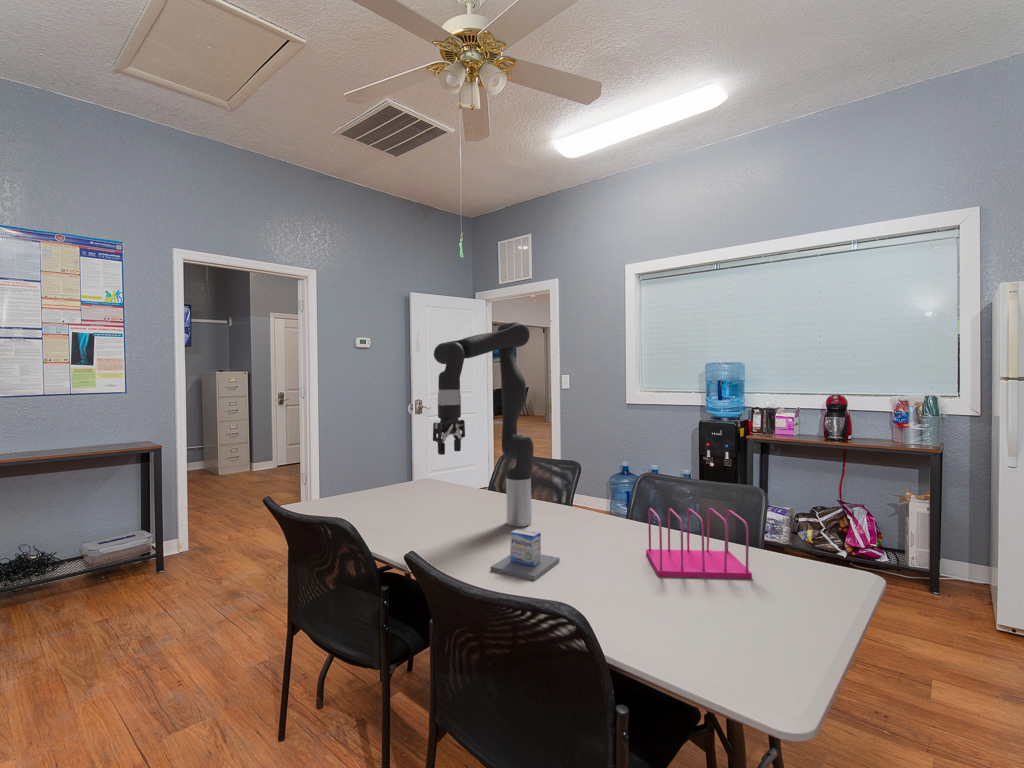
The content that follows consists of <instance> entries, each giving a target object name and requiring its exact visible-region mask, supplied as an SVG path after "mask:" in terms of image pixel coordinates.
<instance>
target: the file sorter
mask: <svg viewBox="0 0 1024 768" xmlns="http://www.w3.org/2000/svg"><path fill="white" fill-rule="evenodd" d="M690 512H691V513H692V514H693V515H694V516H695V517H696V518H698V519H699V522H700V527H701V529H700V530H701V550H700V549H699V550H696V549H690ZM711 512H712V513H714V514H715V515H716V516H717V517H718V518H719V519H721V520H722V521H723V525H724V550H710V522H711V521H710V520H711V519H710V515H711ZM651 513H652V514H653V515H654V516H655V517H656V519H657V520H658V527H659V528H658V529H659V530H658V531H659V532H658V533H659V549H657V548H656V549H654V548H653V549H652V534H651V532H652V529H651V525H652V523H651V522H652V521H651V520H652V519H651ZM671 513H672V514H673V515H674V516H675V517H676V518H677V519H678V521H679V525H680V526H679V527H680V549H671ZM730 514H731V515H733V516H734V517H736V518H738V520H740V521H741V522H743V524H744V527H745V564H743V563H742V562H741V561H740V559H738V558H737V557H736V556H735V555H734V554H733V553H732V552H731V551H730V550H729V515H730ZM647 515H648V548H647V549H646V550H645V554H646V557H647V558H648V560H649V562H650V564H651V567H652V568H653V569H654V572H655V573H656V575H657V577H665V578H667V577H669V578H704V579H705V578H707V579H709V578H710V579H737V580H738V579H740V580H742V579H743V580H744V579H746V580H747V579H748V580H749V579H750V580H752V579H753V573H752V571H750V570H749V551H750V550H749V543H750V542H749V541H750V540H749V538H750V537H749V534H750V533H749V525H748V522H747V521H746V520H745V519H743V518H742V517H741V516H740V515H738V514H737V513H735V512H734V511H732V510H730V509H728V510H727V511H726V513H725V518H724V517H723V516H722V515H721V514H720V513H719V512H717V511H716V510H715V509H714V508H712V507H709V508H708V511H707V519H706V521H707V523H706V524H707V526H706V550H705V531H704V530H705V529H704V521H703V519H702V516H700V515H699V514H698V513H697V512H695V510H694V509H692V508H688V509H687V511H686V544H687V547H686V548H687V549H684V530H683V527H684V526H683V521H682V518H681V516H680V515H678V513H676V511H674V509H672V508H669V509H668V510H667V549H663V543H662V542H663V539H662V537H663V533H662V531H663V530H662V520H661V517H660V516H659V515H658V513H657V512H656V511H655V510H654V509H653V508H650V507H649V508H648V514H647Z"/></svg>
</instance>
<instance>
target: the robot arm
mask: <svg viewBox="0 0 1024 768" xmlns="http://www.w3.org/2000/svg"><path fill="white" fill-rule="evenodd" d="M530 334H531V333H530V329H529V327H528V326H527V325H526V324H525V323H524V322H519V321H516V322H515V321H514V322H506V323H502V324H500V325H499V326H498V328H497V331H493V332H486V333H481V334H476V335H472V336H467V337H464V338H461V339H458V340H452V341H451V340H450V341H446V342H442V343H439V344H438V345H436V347H435V348H434V350H433V357H434V360H435V362H437V363H438V364H441V365H445V369H444V370H443V371H441V372H440V373H439V375H438V383H437V384H438V391H437V392H438V393H437V418H438V419H439V422H433V425H432V441H433V442H435V443H437V454H438V455H439V456H440V455H441V456H443V455H445V454H446V443H445V441H446V439H447V438H449V436H452V437H453V450H454V452H461V450H462V448H461V447H462V439H463V438H465V437H466V424H465V423H466V422H465V419H460V418H461V416H462V396H461V395H462V394H461V375H462V370H463V367H464V366H463V365H464V362H465V359H473V358H475V357H478V356H482V355H485V354H487V353H490V352H494V351H497V350H498V356H499V364H500V367H499V368H500V385H501V387H500V388H501V390H500V391H501V403H502V430H501V451H502V454H503V456H504V458H507V459H511V460H516V461H515V466H513V467H511V468H508V469H507V470H506V475H505V476H506V524H507V526H511V527H517V528H518V527H520V528H521V527H527V525H528V526H529V525H531V524H532V520H533V519H532V514H533V513H532V510H533V509H532V471H533V466H534V465H533V464H534V443H533V440H532V438H531V437H530V436H528V435H523V434H518V421H519V416H520V415H521V413H522V411H523V410H524V409H523V408H524V406H525V405H526V402H527V385H526V380H525V377H524V376H523V375H524V374H522V372H521V370H520V368H519V366H518V364H517V361H516V357H515V356H516V355H515V348H520V347H523V346H524V345H526V344H527V343H528V342H529V340H530Z"/></svg>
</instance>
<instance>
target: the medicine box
mask: <svg viewBox="0 0 1024 768" xmlns="http://www.w3.org/2000/svg"><path fill="white" fill-rule="evenodd" d="M541 536H542V534H541V532H536V531H533V530H531V531H530V530H525V529H519V528H518V529H517V528H516V529H515V530H512V531H511V532H510V547H509V548H510V552H509V554H510V561H511V562H514V563H519V564H524V565H529V566H535V565H537V564H538V563H540V562H541V554H542V551H541V550H542V545H541V544H542V543H541V541H542V537H541Z"/></svg>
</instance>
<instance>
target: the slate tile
mask: <svg viewBox="0 0 1024 768" xmlns="http://www.w3.org/2000/svg"><path fill="white" fill-rule="evenodd" d="M559 563H560V557H557V556H552V555H546V554H542V553H541V562H540V563H538V564H537V565H535V566H529V565H524V564H519V563H514V562H511V561H510V555H507V556H506V557H504V558H503V559H500V560H499V561H497V562H496V563H495V564H492V565H490V572H493V571H494V573H498V572H499V573H498V574H502V573H503V574H504V575H507V574H508V575H509V576H512V575H513V576H512V577H516V576H517V578H521V579H525V580H526V579H527V580H530V581H533V582H534V581H537V579H538V578H540V577H541V576H543V575H544V574H545V573H547V572H548V571H549V570H551V569H552V568H554V567H555V566H556V565H557V564H559Z"/></svg>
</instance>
